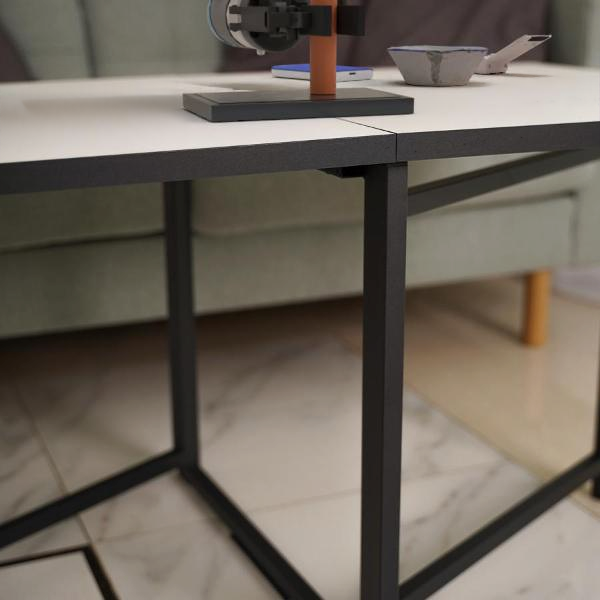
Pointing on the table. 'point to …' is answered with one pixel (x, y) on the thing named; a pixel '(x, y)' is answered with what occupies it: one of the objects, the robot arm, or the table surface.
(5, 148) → the table surface
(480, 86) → the table surface
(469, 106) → the table surface
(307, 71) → the hard drive
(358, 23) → the robot arm
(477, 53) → the bowl
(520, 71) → the table surface
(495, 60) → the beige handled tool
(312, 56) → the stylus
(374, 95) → the tablet
